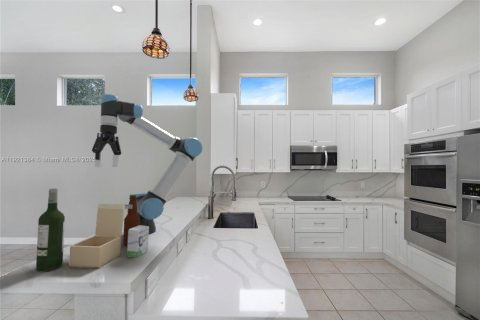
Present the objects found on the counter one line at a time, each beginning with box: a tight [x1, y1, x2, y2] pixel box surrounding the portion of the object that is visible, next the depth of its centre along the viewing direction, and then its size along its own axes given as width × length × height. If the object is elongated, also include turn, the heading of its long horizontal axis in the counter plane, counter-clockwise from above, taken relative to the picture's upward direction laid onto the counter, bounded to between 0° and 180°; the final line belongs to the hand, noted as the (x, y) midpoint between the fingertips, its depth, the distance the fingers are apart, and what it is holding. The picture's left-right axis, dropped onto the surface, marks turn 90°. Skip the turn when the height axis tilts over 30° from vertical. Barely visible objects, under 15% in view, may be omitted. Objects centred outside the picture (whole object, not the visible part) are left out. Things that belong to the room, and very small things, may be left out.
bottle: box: [122, 194, 140, 248], centre depth 116 cm, size 7×7×25 cm
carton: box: [68, 235, 122, 269], centre depth 96 cm, size 14×12×8 cm
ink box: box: [126, 225, 150, 259], centre depth 104 cm, size 9×5×12 cm, turn 168°
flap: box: [94, 203, 133, 238], centre depth 108 cm, size 14×12×8 cm
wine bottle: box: [35, 188, 66, 272], centre depth 89 cm, size 8×8×30 cm
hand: (107, 167), depth 118 cm, fingers open, 13 cm apart
